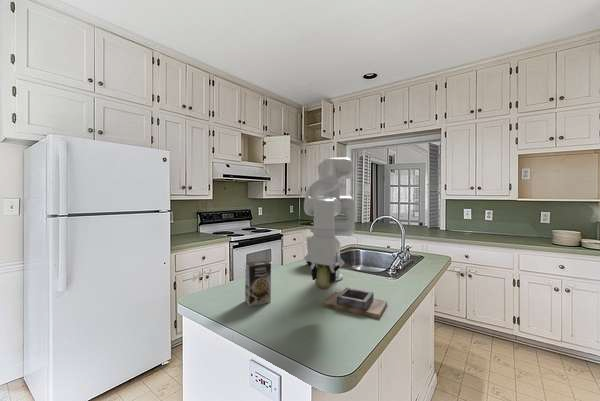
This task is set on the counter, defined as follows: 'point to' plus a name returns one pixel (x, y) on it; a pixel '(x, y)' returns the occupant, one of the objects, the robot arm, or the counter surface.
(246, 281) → the coffee box
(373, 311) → the collar stand
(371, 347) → the counter surface
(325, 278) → the fennel bulb
